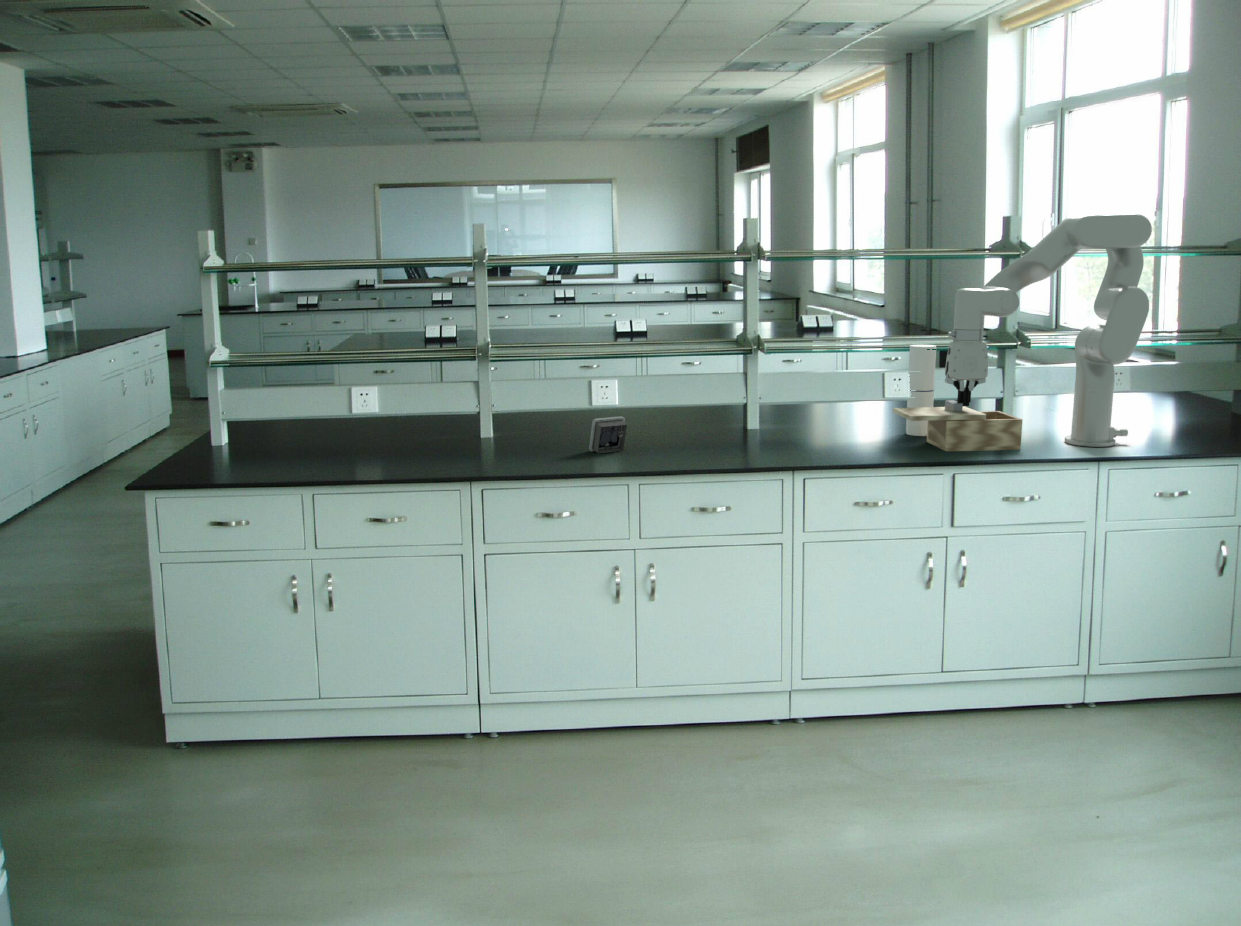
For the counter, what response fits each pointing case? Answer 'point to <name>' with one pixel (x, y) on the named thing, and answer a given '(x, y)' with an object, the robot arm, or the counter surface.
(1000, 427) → the wooden box
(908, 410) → the lid
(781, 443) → the counter surface
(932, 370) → the cylindrical container
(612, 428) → the electrical switch
